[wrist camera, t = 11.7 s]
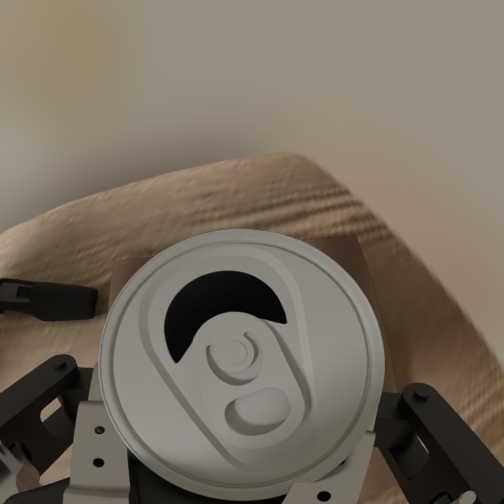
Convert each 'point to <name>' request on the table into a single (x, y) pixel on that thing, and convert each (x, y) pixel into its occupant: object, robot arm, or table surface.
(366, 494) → the hole board
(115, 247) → the table surface
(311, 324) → the beverage can
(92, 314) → the electric trimmer
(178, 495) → the robot arm
